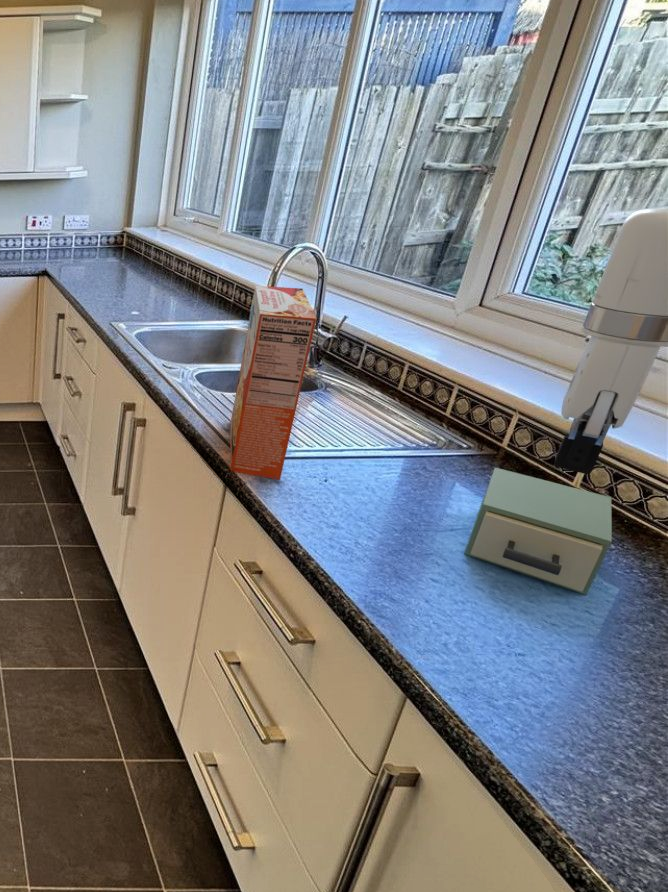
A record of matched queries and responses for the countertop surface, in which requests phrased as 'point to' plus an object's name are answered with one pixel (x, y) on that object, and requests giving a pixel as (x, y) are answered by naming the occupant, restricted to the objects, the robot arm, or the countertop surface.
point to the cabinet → (548, 511)
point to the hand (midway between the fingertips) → (571, 467)
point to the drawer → (536, 550)
